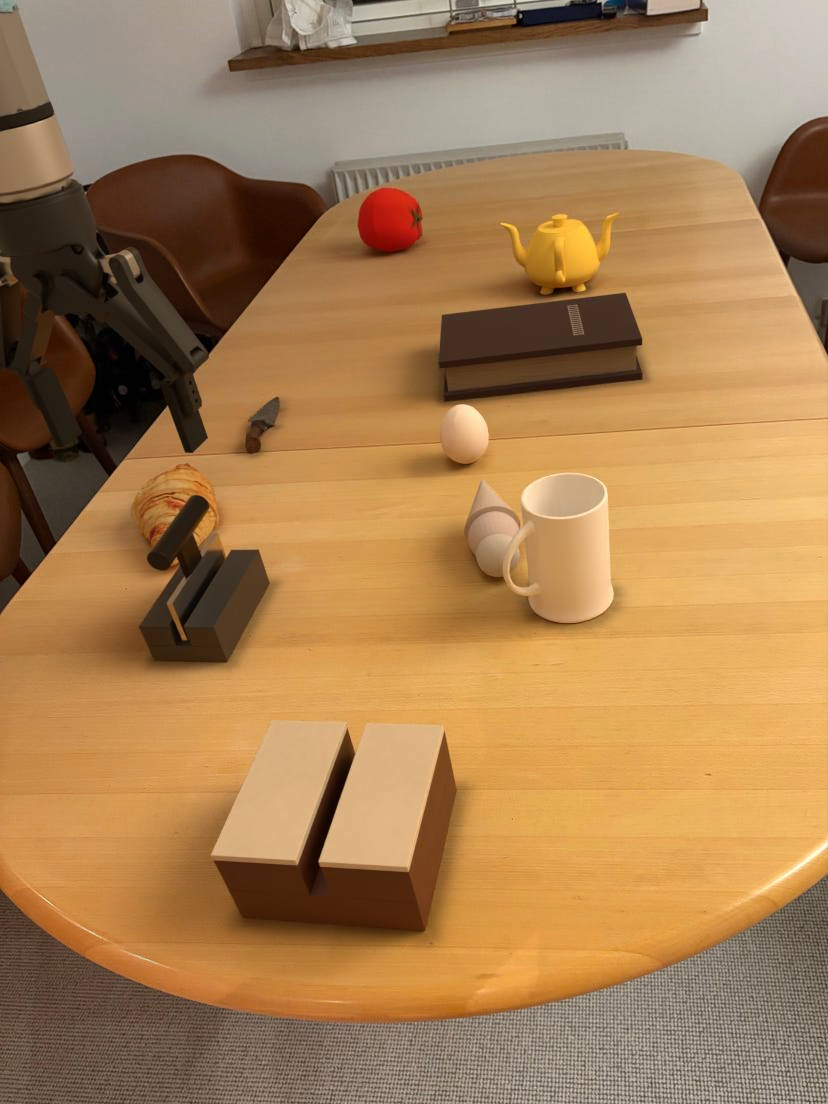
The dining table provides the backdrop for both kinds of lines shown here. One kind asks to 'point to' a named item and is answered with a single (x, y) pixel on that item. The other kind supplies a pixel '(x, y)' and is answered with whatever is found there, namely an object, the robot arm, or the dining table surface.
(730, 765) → the dining table surface
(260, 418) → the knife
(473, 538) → the ice cream cone
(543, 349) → the book
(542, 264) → the teapot
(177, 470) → the croissant
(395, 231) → the tomato
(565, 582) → the mug
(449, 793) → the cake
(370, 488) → the dining table surface
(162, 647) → the slotted block
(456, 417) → the egg
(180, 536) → the ulu knife
